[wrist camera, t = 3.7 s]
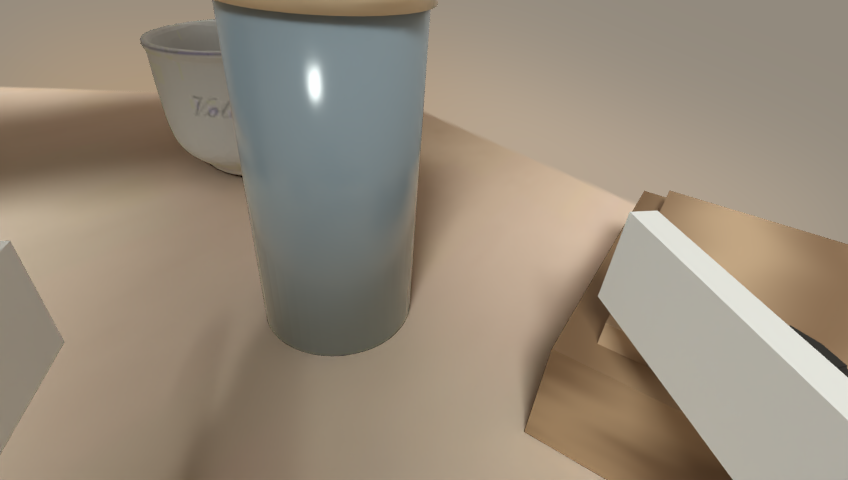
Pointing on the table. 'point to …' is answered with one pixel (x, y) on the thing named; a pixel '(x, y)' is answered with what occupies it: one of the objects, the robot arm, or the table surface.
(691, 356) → the robot arm
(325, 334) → the canister
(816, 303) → the pedestal
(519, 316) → the table surface
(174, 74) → the teacup
